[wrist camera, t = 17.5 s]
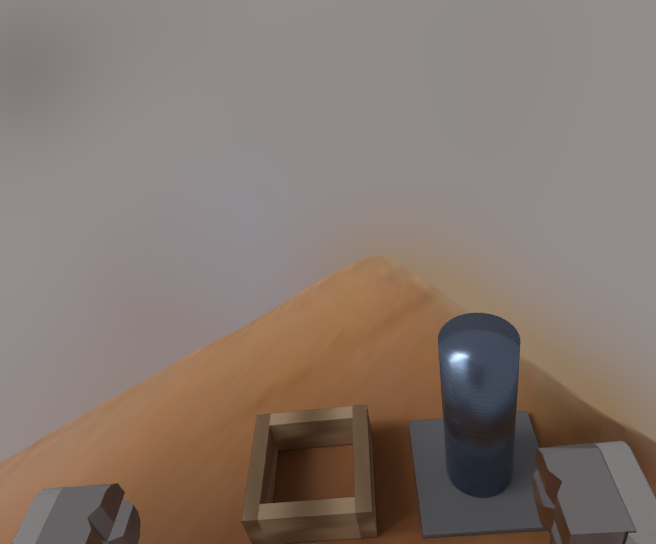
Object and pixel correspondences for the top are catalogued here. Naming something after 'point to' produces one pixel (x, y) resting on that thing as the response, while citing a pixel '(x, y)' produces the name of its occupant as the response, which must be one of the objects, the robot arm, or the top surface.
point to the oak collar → (313, 515)
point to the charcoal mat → (466, 511)
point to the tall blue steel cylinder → (479, 401)
